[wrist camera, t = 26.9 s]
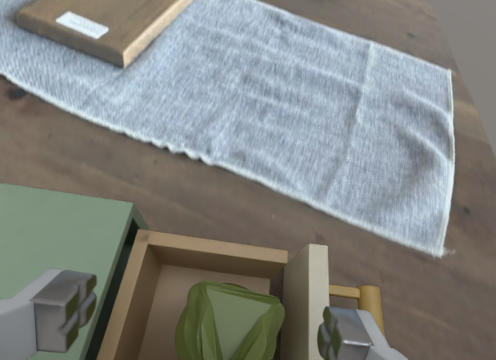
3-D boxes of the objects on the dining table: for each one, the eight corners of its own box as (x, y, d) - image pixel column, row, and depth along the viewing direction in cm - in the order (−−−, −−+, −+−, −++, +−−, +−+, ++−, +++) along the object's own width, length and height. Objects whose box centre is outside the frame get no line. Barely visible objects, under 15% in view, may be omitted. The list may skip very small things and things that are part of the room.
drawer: (349, 275, 23) (396, 255, 17) (359, 437, 18) (430, 488, 12) (159, 248, 22) (140, 218, 16) (115, 409, 17) (66, 448, 11)
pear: (171, 365, 18) (133, 397, 9) (196, 280, 20) (185, 242, 12) (255, 386, 18) (298, 438, 9) (270, 299, 20) (313, 274, 12)
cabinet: (158, 242, 23) (133, 202, 16) (110, 417, 18) (38, 477, 10) (6, 221, 23) (-91, 168, 15) (-92, 394, 17) (-318, 440, 10)
